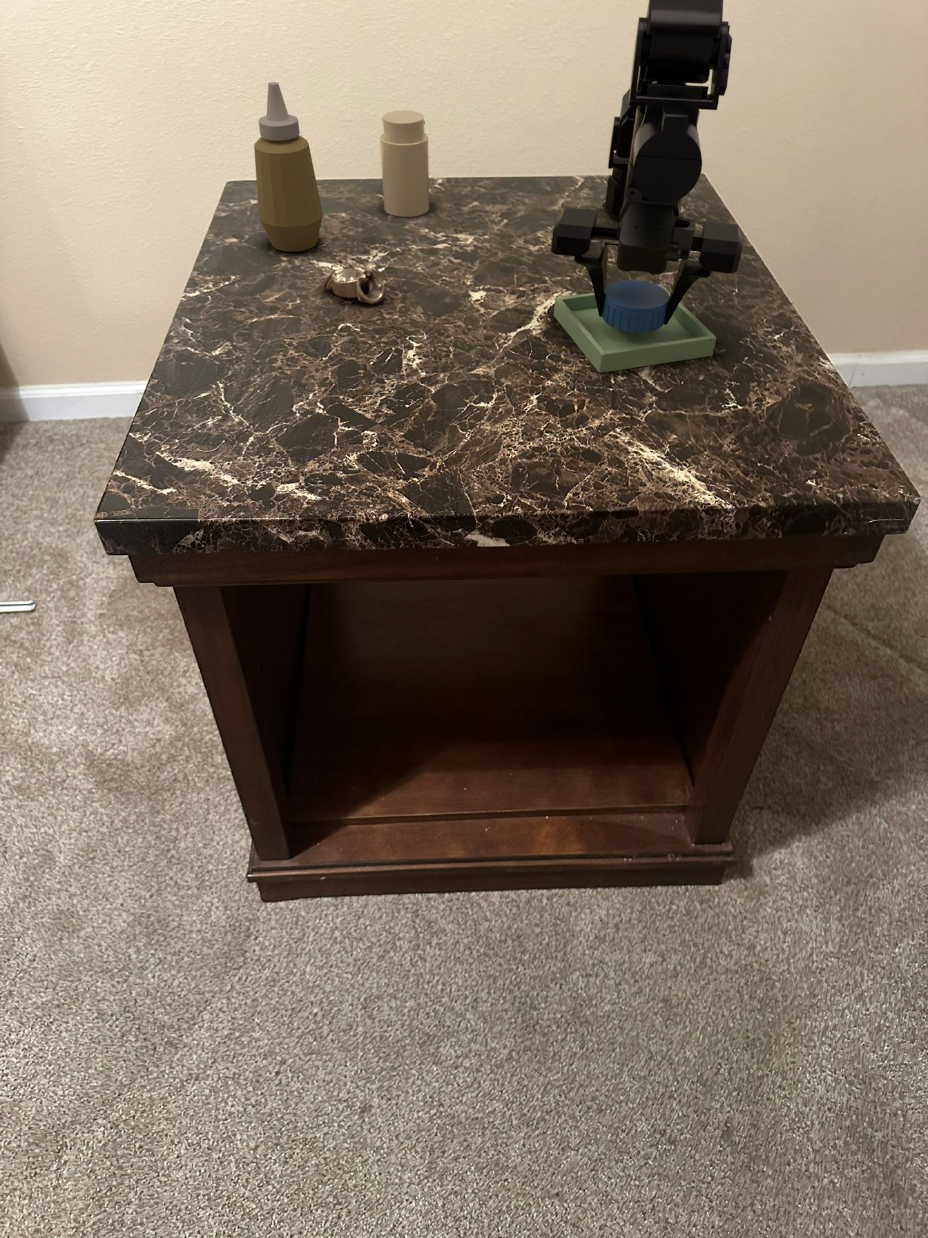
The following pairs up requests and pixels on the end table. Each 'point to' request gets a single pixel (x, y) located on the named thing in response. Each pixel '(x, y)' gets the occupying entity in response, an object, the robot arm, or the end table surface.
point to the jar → (405, 164)
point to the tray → (631, 336)
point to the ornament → (355, 281)
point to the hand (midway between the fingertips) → (632, 319)
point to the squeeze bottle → (286, 179)
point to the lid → (635, 306)
